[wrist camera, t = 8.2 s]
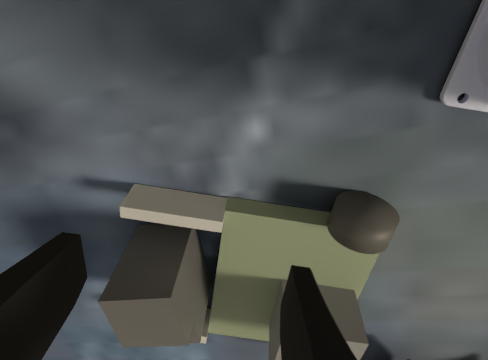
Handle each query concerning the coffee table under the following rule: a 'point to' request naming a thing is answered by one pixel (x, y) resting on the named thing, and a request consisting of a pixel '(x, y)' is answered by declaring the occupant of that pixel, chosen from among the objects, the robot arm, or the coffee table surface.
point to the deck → (277, 255)
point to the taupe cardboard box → (159, 288)
